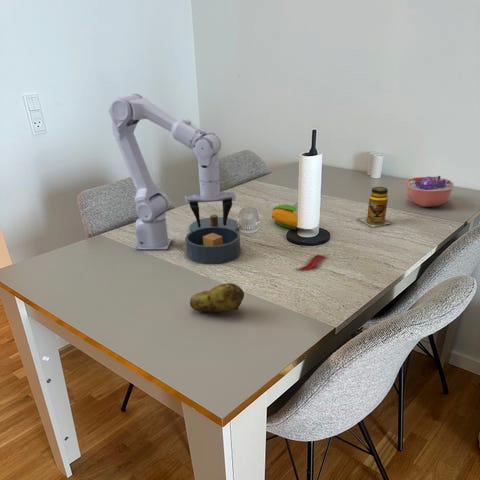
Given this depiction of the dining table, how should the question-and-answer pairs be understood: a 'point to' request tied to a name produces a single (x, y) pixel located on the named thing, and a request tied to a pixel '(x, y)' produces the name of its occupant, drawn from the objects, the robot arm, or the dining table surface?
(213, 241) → the wooden brick
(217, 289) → the potato
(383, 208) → the condiment
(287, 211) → the corn
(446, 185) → the cell model
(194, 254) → the pot
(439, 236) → the dining table surface
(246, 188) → the dining table surface
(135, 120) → the robot arm
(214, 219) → the pot lid
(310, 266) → the cayenne pepper
